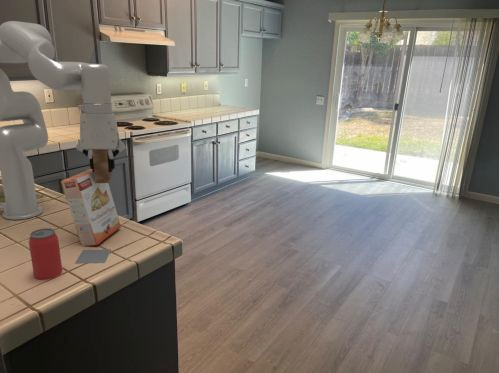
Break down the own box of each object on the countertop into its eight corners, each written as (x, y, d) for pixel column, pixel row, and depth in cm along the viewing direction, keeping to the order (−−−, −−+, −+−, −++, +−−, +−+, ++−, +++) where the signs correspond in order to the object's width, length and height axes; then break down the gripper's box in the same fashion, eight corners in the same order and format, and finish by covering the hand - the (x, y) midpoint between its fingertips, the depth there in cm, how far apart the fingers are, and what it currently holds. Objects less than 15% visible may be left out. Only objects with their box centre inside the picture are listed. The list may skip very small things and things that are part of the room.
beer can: (40, 268, 102) (34, 227, 99) (66, 268, 103) (61, 227, 99) (29, 281, 96) (22, 238, 92) (56, 281, 97) (50, 238, 93)
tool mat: (74, 265, 104) (74, 263, 104) (83, 251, 112) (82, 249, 112) (105, 264, 105) (104, 262, 105) (111, 251, 113) (111, 249, 113)
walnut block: (95, 183, 113) (91, 143, 109) (98, 179, 117) (95, 140, 113) (109, 183, 114) (106, 143, 110) (112, 179, 117) (109, 140, 114)
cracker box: (98, 245, 113) (76, 178, 107) (81, 247, 114) (58, 181, 109) (122, 226, 126) (104, 166, 120) (107, 228, 127) (87, 168, 122)
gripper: (62, 110, 104) (69, 174, 110) (125, 111, 106) (129, 174, 112) (71, 107, 111) (77, 167, 117) (130, 108, 113) (133, 167, 119)
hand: (102, 170), depth 114 cm, fingers closed on walnut block, 4 cm apart
